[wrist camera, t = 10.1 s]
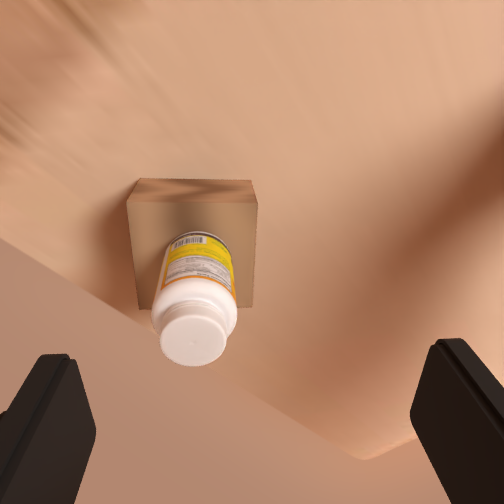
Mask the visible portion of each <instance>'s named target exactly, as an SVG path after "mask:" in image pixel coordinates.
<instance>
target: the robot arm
mask: <svg viewBox="0 0 504 504" xmlns="http://www.w3.org/2000/svg"><path fill="white" fill-rule="evenodd" d="M410 419H411V423H412V425H413V427H414V429H415V431H416V433H417V435H418V438H419V440H420V442H421V443H422V446H423V447H424V449H425V452H426V454H427V455H428V458H429V460H430V462H431V463H432V466H433V468H434V469H435V471H436V474H437V475H438V478H439V480H440V482H441V484H442V486H443V487H444V490H445V492H446V493H447V496H448V497H449V500H450V502H451V504H504V388H503V386H502V385H501V384H500V383H499V381H498V380H497V379H496V378H495V377H494V375H493V374H492V373H491V372H490V371H489V369H488V368H487V367H486V366H485V364H484V363H483V362H482V361H481V360H480V358H479V357H478V356H477V355H476V354H475V352H474V351H473V350H472V349H471V347H470V346H469V345H468V344H467V343H466V342H465V341H464V340H463V339H461V338H453V339H438V340H437V341H436V343H435V345H431V346H430V349H429V352H428V355H427V358H426V361H425V365H424V368H423V371H422V374H421V377H420V381H419V384H418V387H417V390H416V393H415V397H414V400H413V403H412V406H411V410H410ZM95 436H96V427H95V423H94V419H93V416H92V413H91V409H90V406H89V403H88V399H87V396H86V392H85V389H84V386H83V382H82V379H81V375H80V372H79V369H78V365H77V362H76V360H75V359H70V358H69V356H68V355H67V354H45V355H41V356H40V357H39V358H38V360H37V361H36V363H35V365H34V367H33V368H32V370H31V371H30V373H29V375H28V376H27V378H26V380H25V381H24V383H23V385H22V386H21V388H20V390H19V391H18V393H17V395H16V397H15V398H14V400H13V401H12V403H11V405H10V406H9V408H8V409H7V411H4V412H3V413H1V414H0V504H74V502H75V499H76V496H77V493H78V490H79V487H80V484H81V481H82V478H83V475H84V472H85V469H86V466H87V463H88V460H89V457H90V454H91V451H92V448H93V445H94V442H95Z"/></svg>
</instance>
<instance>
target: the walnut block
mask: <svg viewBox="0 0 504 504" xmlns="http://www.w3.org/2000/svg"><path fill="white" fill-rule="evenodd" d="M126 206H127V214H128V222H129V231H130V239H131V247H132V255H133V264H134V272H135V280H136V288H137V296H138V305H139V310H140V309H152V305H153V301H154V297H155V293H156V288H157V284H158V280H159V276H160V271H161V267H162V263H163V259H164V255H165V252H166V250H167V248H168V246H169V245H170V243H171V242H172V241H173V240H175V239H176V238H177V237H179V236H181V235H183V234H185V233H189V232H195V231H199V232H206V233H210V234H212V235H214V236H216V237H218V238H219V239H221V240H222V241H223V242H224V243H225V244H226V246H227V247H228V249H229V251H230V254H231V257H232V265H233V275H234V285H235V294H236V304H237V308H249V307H252V301H253V282H254V264H255V246H256V228H257V210H258V202H257V199H256V195H255V192H254V189H253V185H252V182H251V180H207V179H144V178H140V179H139V181H138V183H137V184H136V186H135V188H134V189H133V191H132V193H131V195H130V196H129V198H128V200H127V201H126Z"/></svg>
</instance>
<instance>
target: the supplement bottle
mask: <svg viewBox="0 0 504 504" xmlns="http://www.w3.org/2000/svg"><path fill="white" fill-rule="evenodd" d="M151 319H152V324H153V327H154V329H155V331H156V332H157V334H158V335H159V336H160V338H159V343H160V347H161V350H162V352H163V353H164V355H165V356H166V357H167V358H169V359H170V360H171V361H173V362H175V363H177V364H180V365H183V366H191V367H193V366H202V365H206V364H208V363H211V362H213V361H214V360H216V359H217V358H218V357H219V356H220V355H221V354H222V352H223V351H224V349H225V346H226V339H227V338H228V336H229V335H230V334H231V333H232V331H233V329H234V327H235V325H236V321H237V304H236V294H235V285H234V275H233V265H232V257H231V254H230V251H229V249H228V247H227V246H226V244H225V243H224V242H223V241H222V240H221V239H219V238H218V237H216V236H214V235H212V234H210V233H206V232H199V231H195V232H189V233H185V234H183V235H181V236H179V237H177V238H176V239H175V240H173V241H172V242H171V243H170V245H169V246H168V248H167V250H166V252H165V255H164V259H163V263H162V267H161V271H160V276H159V280H158V284H157V288H156V293H155V297H154V301H153V305H152V311H151Z"/></svg>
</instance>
